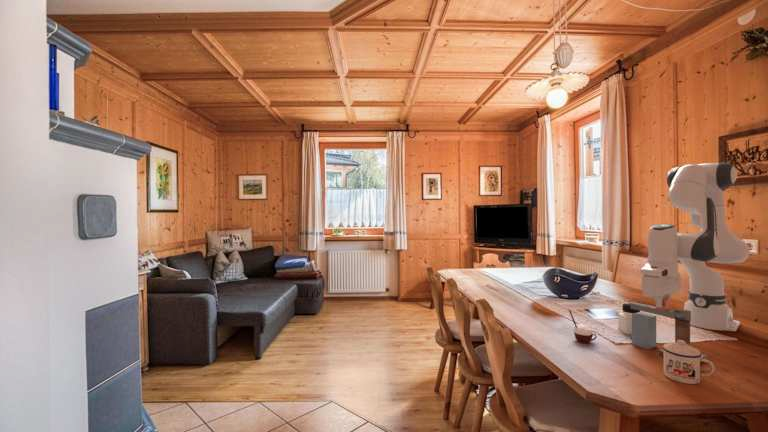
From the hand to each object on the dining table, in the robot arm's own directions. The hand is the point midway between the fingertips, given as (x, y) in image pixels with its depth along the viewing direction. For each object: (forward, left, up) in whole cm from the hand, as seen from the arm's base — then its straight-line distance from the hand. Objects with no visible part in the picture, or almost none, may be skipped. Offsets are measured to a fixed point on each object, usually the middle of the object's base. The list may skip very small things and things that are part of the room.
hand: (662, 306), depth 126 cm
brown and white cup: (+16, -20, -17) cm, 31 cm away
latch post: (0, +6, -17) cm, 18 cm away
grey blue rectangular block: (0, -6, -17) cm, 18 cm away
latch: (0, -1, -3) cm, 3 cm away
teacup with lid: (+17, +14, -17) cm, 28 cm away
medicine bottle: (-11, -16, -17) cm, 26 cm away
